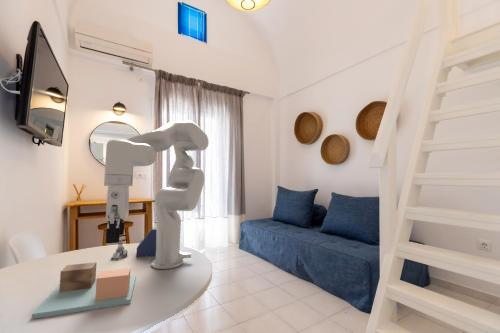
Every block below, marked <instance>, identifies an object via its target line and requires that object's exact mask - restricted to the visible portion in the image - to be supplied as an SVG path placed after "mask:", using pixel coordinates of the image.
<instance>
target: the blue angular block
mask: <svg viewBox="0 0 500 333" xmlns="http://www.w3.org/2000/svg"><path fill="white" fill-rule="evenodd" d="M156 233H157V227H152V228H151V229H150V230H149V232H148V233H147V234H146V236H145V237H144V238H143V239H142V240H140V242H139V244H138V245H137V247H136V258H145V257H146V258H147V257H148V258H149V257H156Z"/></svg>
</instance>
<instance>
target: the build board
mask: <svg viewBox="0 0 500 333" xmlns="http://www.w3.org/2000/svg"><path fill="white" fill-rule="evenodd" d="M136 279H137V274H130V288H129V292H128V296H124V297H118V298H111V299H104V300H97V301H95V297H96V281H95V282H94V284H93V286H92V288H88V289H80V290H73V291H65V292H59V290H60V283H59V284H58V285H57V286H56V287H55V288H54V289H53V290H52V291H51V293H50V294H48V296H47V297H46V298H45V299H44V300H43V301H42V303H40V305H39V306H38V307H37V308H36V309H35V310H33V312H32V313H31V320H35V319H39V318H40V319H41V318H46V317H53V316H59V315H67V314H73V313H78V312H80V313H81V312H86V311H92V310H99V309H105V308H111V307H116V306H117V307H118V306H123V305H124V306H125V305H130V304H131V303H132V302H131V301H132V297H133V293H134V289H135V284H136Z"/></svg>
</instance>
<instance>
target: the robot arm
mask: <svg viewBox="0 0 500 333" xmlns="http://www.w3.org/2000/svg"><path fill="white" fill-rule="evenodd" d="M105 146H106V147H105V161H104V162H105V164H104V165H105V167H104V179H103V180H104V181H103V186H105V187H107V193H106V195H107V196H106V207H105V218H106V220H107V226H106V233H105V243H106V244H118V242H119V240H120V236H123V235H124V234H125V220H126V219H128V218H129V213H130V212H129V211H130V207H129V206H130V187H133V185H134V184H133V180H134V168H135V167H147V166H151V165H153V164H154V163H156V161H157V153H161V152H164V151H167V150H168V149H170V148H172V147H173V150H174V154H175V161H174V164H173V165H172V168H171V169H170V172H169V174H168V178H167V183H168V185H169V187H162V188H160V189H159V190H157V191H156V194H155V197H154V199H155V200H154V201H155V208H156V228H157V233H156V256H154V257H155V258H154V259H153V260H152V261H151V262H150V267H152V268H153V269H157V270H168V269H169V270H170V269H174V268H178V267H180V266H182V265H183V264H184V259H191V258H192V253H191V252H189V253H188V252H186V251H185V252H182V251H181V231H182V230H181V229H182V228H181V227H182V219H181V217H180V215H179V211H181V212H192V211H194V210H195V209H196V207H197V206H198V203H199V199H200V197H201V195H202V194H201V193H202V190H203V189H204V188H203V187H204V184H205V172H204V171H203V170H202V169H201V168H200V167H194V163H195V161H194V159H193V157H192V156H191V155H190V153H189V151H191V152H192V151H193V152H194V151H196V152H197V151H198V152H199V151H201V152H202V151H205V150H206V149H207V148H208V146H209V138H208V136H207V134H206V132H204V130H203V129H202V128H201V127H200V126H199V125H198V124H197V123H195V122H193V121H192V120H183V121H181V120H180V121H178V120H177V121H170V122H168V123H166V124H164V125H162V126H160V127H158V128H157V129H155V130H153V131H149V132H145V133H143V134H139V135H135V136H132V137H129V138H126V139H110V140H108V141H107V143H106V145H105Z"/></svg>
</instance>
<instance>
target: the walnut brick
mask: <svg viewBox="0 0 500 333" xmlns="http://www.w3.org/2000/svg"><path fill="white" fill-rule="evenodd" d="M96 279H97V262H86V263H85V262H84V263H75V264H74V263H73V264H67V265H65V267H63V269H62V270H60V279H59V284H60V290H59V292H65V291H73V290H80V289H88V288H92V286H93V284H94V282H95V281H96Z"/></svg>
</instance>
